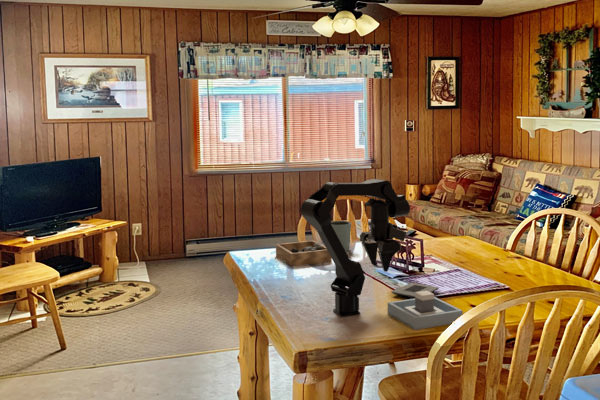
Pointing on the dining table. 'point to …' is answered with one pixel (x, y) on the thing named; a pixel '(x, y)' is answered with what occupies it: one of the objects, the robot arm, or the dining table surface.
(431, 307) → the plug
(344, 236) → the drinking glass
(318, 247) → the bison figurine
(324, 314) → the dining table surface
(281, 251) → the wooden tray
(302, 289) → the dining table surface
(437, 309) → the walled box
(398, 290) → the grey rectangular plate
